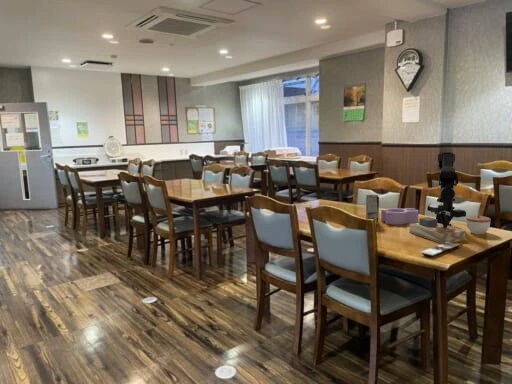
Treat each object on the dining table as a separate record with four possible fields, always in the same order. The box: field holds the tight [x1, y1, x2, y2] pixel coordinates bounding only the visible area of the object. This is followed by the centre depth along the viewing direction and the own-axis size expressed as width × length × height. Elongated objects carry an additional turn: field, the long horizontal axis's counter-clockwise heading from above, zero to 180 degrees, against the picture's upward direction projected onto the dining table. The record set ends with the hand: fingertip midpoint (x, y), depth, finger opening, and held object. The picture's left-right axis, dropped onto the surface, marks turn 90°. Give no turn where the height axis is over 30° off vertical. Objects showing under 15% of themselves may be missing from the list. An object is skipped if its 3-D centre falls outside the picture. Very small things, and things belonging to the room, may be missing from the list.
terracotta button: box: [436, 225, 456, 232], centre depth 189 cm, size 6×6×4 cm
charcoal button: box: [418, 216, 438, 227], centre depth 199 cm, size 6×6×4 cm
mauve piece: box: [380, 207, 420, 225], centre depth 225 cm, size 20×12×7 cm, turn 94°
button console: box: [408, 222, 466, 244], centre depth 194 cm, size 14×22×4 cm, turn 19°
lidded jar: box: [465, 214, 492, 235], centre depth 197 cm, size 11×11×9 cm
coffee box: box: [365, 194, 380, 226], centre depth 223 cm, size 9×6×16 cm
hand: (445, 227), depth 188 cm, fingers closed, pressing on terracotta button
